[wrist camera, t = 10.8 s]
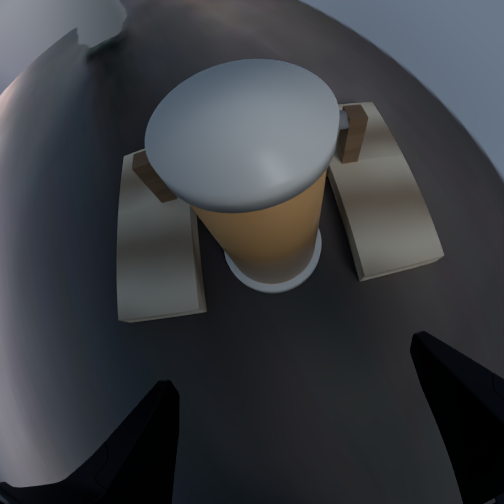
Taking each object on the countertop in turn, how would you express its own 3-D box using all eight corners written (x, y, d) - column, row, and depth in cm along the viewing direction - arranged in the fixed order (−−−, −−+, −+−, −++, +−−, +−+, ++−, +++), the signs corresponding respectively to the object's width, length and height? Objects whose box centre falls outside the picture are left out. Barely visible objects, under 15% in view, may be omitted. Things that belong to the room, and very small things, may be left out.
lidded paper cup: (325, 288, 17) (373, 188, 6) (228, 297, 18) (123, 219, 7) (313, 201, 19) (319, 50, 8) (226, 210, 20) (156, 77, 9)
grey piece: (434, 261, 16) (479, 228, 11) (130, 322, 18) (74, 310, 13) (369, 113, 21) (380, 61, 15) (131, 165, 23) (97, 124, 17)
